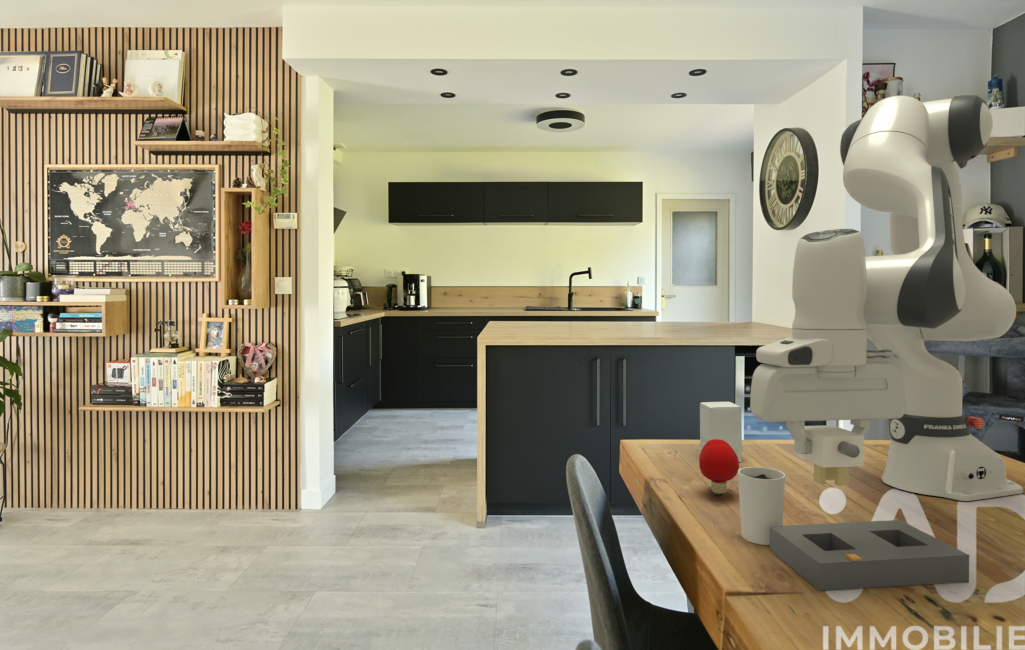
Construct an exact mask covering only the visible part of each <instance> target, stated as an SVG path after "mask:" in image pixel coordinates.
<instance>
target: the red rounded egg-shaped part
mask: <svg viewBox="0 0 1025 650" xmlns="http://www.w3.org/2000/svg"><path fill="white" fill-rule="evenodd" d="M699 454H700V455H699V457H698V460H699V461H698V463H699V465H698V466H699V470H700V473H701V474H702V476H704V477H705V478H706V479H708V480H709V481H710V482H711V488H710V489H711V491H712V492H713V493H714V494H715V495H716V496H722V495H723V494H725V493H726V492H727V489H728V488H727V487H728V486H727V484H728V481H731V480H733V479H734V478H735V477H736V476H737V475H738V470H739V469H740V462H739V460H738V457H737V454H736V453H735V451H734V450H733V448H732V447H731V446H730V445H729V444H728V443H727V442H726V441H724V440H720V439H712V440H710V441H708V442H707V443H706V444H705V445H704V447H703V448H702V450H701V453H699Z"/></svg>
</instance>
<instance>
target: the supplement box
mask: <svg viewBox="0 0 1025 650" xmlns="http://www.w3.org/2000/svg"><path fill="white" fill-rule="evenodd" d="M712 439H720V440H724V441H726V442H727V443H728V444H729V445H730V446H731V447H732V448H733V450H734V451H735V453H736V454H737V457H738V460H739V463H742V461H743V460H742V459H743V450H742V449H743V447H742V446H743V445H742V442H743V441H742V439H743V438H742V406H740V405H738V404H736V403H734V402H731V401H703V402H700V403H699V444H700V445H699V447H700V448H699V452H700V453H701V450H702V448H703V447H704V445H705V444H706V443H707V442H708V441H710V440H712ZM700 453H699V454H700Z"/></svg>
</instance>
